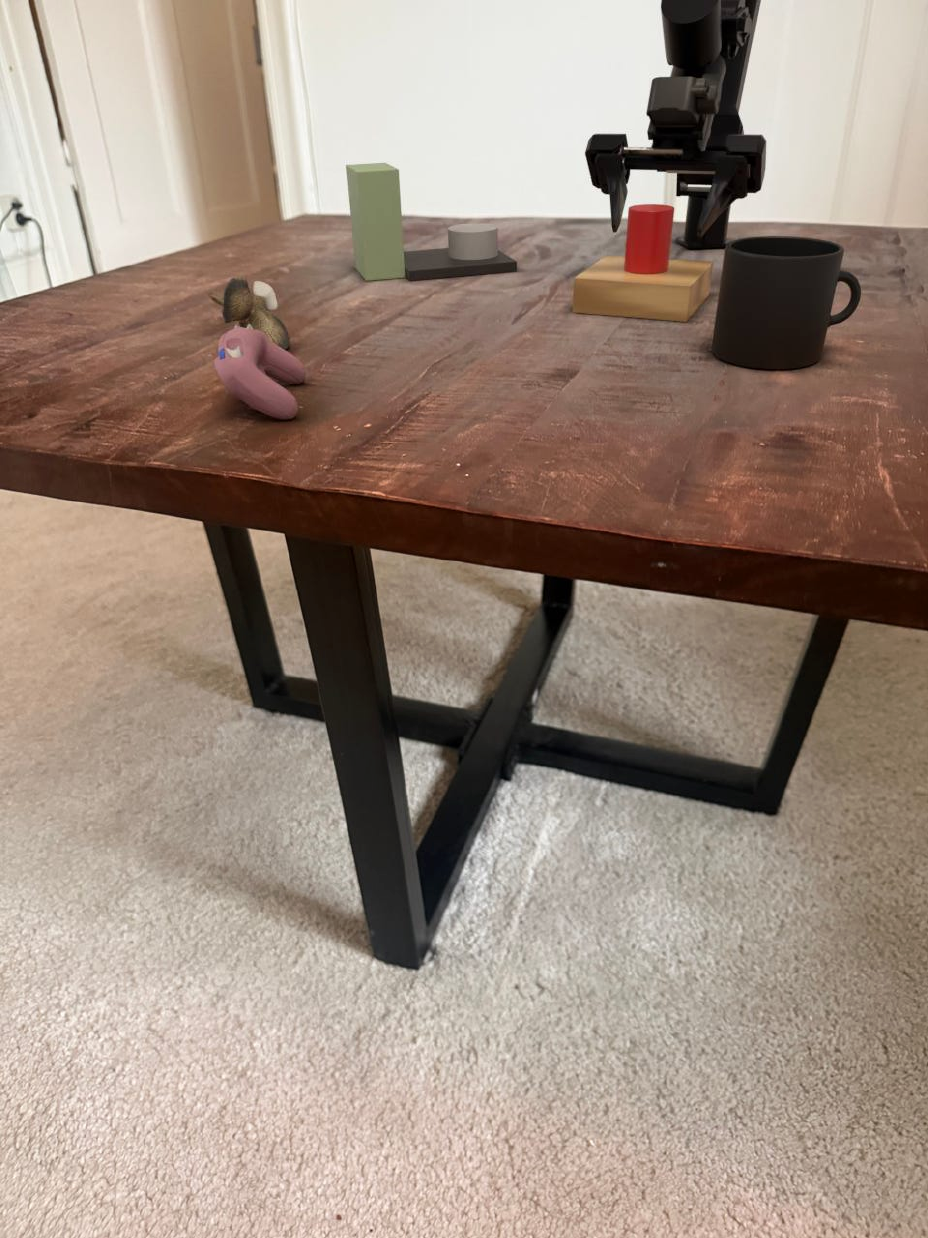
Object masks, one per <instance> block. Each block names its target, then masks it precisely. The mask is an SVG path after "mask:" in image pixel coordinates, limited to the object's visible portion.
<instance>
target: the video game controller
mask: <svg viewBox="0 0 928 1238" xmlns="http://www.w3.org/2000/svg"><path fill="white" fill-rule="evenodd" d="M217 351H218V353H217V355H218V356H217V357H216V358H215V359H214V368H215V371H216V374H217V375H218V378H219V380H220V381H221V383H222V384H223V386H224V387H225V388H226V390H227V391H228V393H230V394H231V395H232V396H233V397H234V398H235V399H237V400H239V401H242V402H244V403H245V404H247V406H249V408H250V409H252V410H253V411H258V412H260V413H262V414H264V415H266V416H269V417H272V418H275V419H278V420H291V419H294V418H295V416H296V415H297V414H298V411H299V405H298V402H297V401H298V400H297V399H296V397H294V396H293V395H292V393H291V392H290V391H289V390H288V389H287V388H285V387H284V386H282V385H281V384H279V383H278V382H280V383H285V384H290V385H299V384H301V383H302V382H304V380H305V378H306V375H307V373H306V368H305V367H304V364H302V362H301V361H300V360H299V358H297V357H296V356H295V355H293V354H292V353H290V352H289V351H287V350H286V349H285V348H284V349H282V348H281V347H279V346H277V345H276V344H275V343H273V342H272V341H271V340H269V339H268V338H267V337H266V336H265V335H264V334H263V333H262V332H260V331H259V330H254V329H253V327H252V326H251V325H250V324H249V325H248V326H247V328H244V327H237V328H234V327H233V328H232V329H230V330H229V331H226V332H224V333H223V334H222V335H221V336H220V338H219V340H218V344H217ZM272 379H273V380H272ZM274 380H275V381H274ZM276 381H278V382H276Z"/></svg>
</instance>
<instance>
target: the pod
mask: <svg viewBox="0 0 928 1238" xmlns="http://www.w3.org/2000/svg"><path fill="white" fill-rule="evenodd" d="M627 211H628V212H627V224H626V225H627V226H626V238H625V248H624V249H625V251H624V256H625V262H624V270H625V271H627V272H630V273H636V274H658V273H663V272H666V271H667V270H668V265H669V259H670V256H671V255H670V254H671V244H672V237H673V227H674V226H673V225H674V215H675V207H674V206H673V205H669V204H660V203H643V204H635V205H631V206H629V207H628V210H627Z"/></svg>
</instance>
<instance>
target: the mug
mask: <svg viewBox="0 0 928 1238" xmlns="http://www.w3.org/2000/svg"><path fill="white" fill-rule="evenodd" d="M730 241H731V242H729V243H727V245H726V247H724V253H723V262H722V270H721V277H720V284H719V290H718V298H717V306H716V312H715V319H714V326H713V333H712V341H711V349H712V350H711V351H712V354H713V355H714V356H715V357H717V358H718V359H720V360H722V361H725V362H727V363H730V364H733V365H737V366H739V367H745V368H751V369H759V370H760V369H761V370H790V369H798V368H804V367H809V366H810V365H813V364H815V363H817V362H818V361H819V360H820V358H821V357H822V355H823V351H824V347H825V342H826V337H827V333H828V328H830V327H831V326H836V325H839V324H842V323H843V322H845V321H847V320H849V318H850V317H852V315H853V314H854V312H855V311H856V310H857V308H858V307H859V303H860V301H861V297H862V287H861V285H860V282H859V280H858V278H857V277H856V276H855V275H854V274H853V273H852V272H850V271H848V270H844V269H843V270H842V269H841V268H842V267H841V266H842V263H843V258H844V254H845V248H844V247H843V246H842V245H840V244H838V243H837V242H833V241H829V240H825V239H820V238H813V237H805V236H792V235H790V236H789V235H761V236H760V235H759V236H748V237H742V238H738V239H734V240H730ZM840 282H842V283H844V284H846V285H847V287H848V288H849V291H850V298H849V301H848V303H847V305H846V306H845V307H844V309H842V310H841V311H840V312H838V313H835V314H833V315H832V310H833V305H834V300H835V296H836V291H837V286H838V283H840Z"/></svg>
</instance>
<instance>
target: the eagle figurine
mask: <svg viewBox="0 0 928 1238" xmlns="http://www.w3.org/2000/svg"><path fill="white" fill-rule="evenodd" d="M205 293H206V294H207V296H208V297H209V298H210V299H211V300H212V301H213V302H214V303H216V304H218V305H219V306H222V307H221V314H222V318H223V321H224V323H225V324H229V323H233V322H235V323H234V327H233V329H234V328H237V327H244V328H247V326H248V325H249V324H250V325H251V326H252V327H253V329H254V330H259V331H260V332H262V333H263V334H264V335H265V336H266V337H267V338H268V339H269V340H271V341H272V342H273V343H275V344H276V345H277V346H279V347H281V348H282V349H284V350H286V349H288V348H289V346H290V343H291V338H290V336H289V331H288V329H287V327H286V325H285V324H284V322H283V321H282V320H281V319H280V318H278V317H277V316H275V315H274V314H273V313H271V312H270V311H276V310H277V309H278V301H277V295H276V293H275V291H274V289H273V287H271V286H270V285H269V284H268V283H266V282H263V281H260V280H255V281H254V282H253V285H252V293H253V295H252V293H251V289H250V286H249V283H248V279H246V278H245V279H242V278H241V279H239V278H235V277H231V278H230V280H228V282H227V284H226V285H225V287H224V289H223V295H222V298H221V297H219V296H218V295H216V294H215V293H213V292H212V290H210V289H207V288H206V289H205Z"/></svg>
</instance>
